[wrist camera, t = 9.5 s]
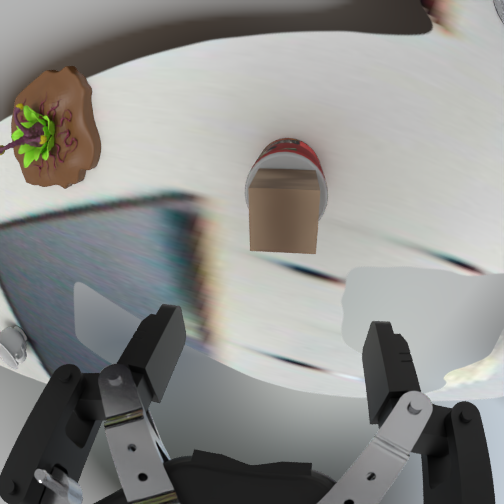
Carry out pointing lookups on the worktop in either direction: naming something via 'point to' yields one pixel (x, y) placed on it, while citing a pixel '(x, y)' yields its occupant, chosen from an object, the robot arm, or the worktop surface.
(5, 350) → the teacup
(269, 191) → the walnut block
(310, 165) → the canned food
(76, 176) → the plant
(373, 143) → the worktop surface
